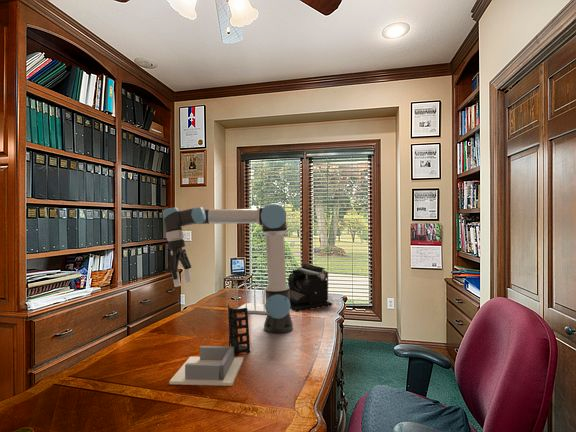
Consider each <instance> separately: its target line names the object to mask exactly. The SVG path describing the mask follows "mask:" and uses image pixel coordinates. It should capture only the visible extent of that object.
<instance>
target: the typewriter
mask: <svg viewBox="0 0 576 432" xmlns="http://www.w3.org/2000/svg"><path fill="white" fill-rule="evenodd" d="M325 269H326V268H325V267H322V266H318V265H317V266H316V265H313V264H308V263H303V264H302V265H301V266H300V267H297V269H292V273H290V274H289V275H288V278H287V279H288V280H287V281H288V283H287V285H289V289H290V291H289V293H290V304H291V307H290V309H291V308H292V309H291V310H293V309H294V310H293V311H295V310H296V311H295V312H300V311H299V310H303V311H306V310H305V309H308V310H312V309H311V308H314V309H318V308H317V307H320V308H323V307H322V306H326V307H329V306H328V305H332V306H333V303H332V302H331V301H328V300H329V294H328V293H329V272H328V271H326V270H325Z"/></svg>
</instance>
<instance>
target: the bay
mask: <svg viewBox="0 0 576 432" xmlns="http://www.w3.org/2000/svg"><path fill="white" fill-rule="evenodd" d="M244 360H245V359H244V357H243V356H242V357H237V356H236V357H235V353H234V346H231V345H230V346H229V345H228V346H227V345H223V346H221V345H200V346H199V356H189V357H188V358H187V360H186V361H185V362H184V363H183V364H182V366H181V367H179V369H178V370H177V371H176V373H175V374H174V375H173V377H172V378H171V379H170V380H169V381H168V385H186V386H188V385H189V386H224V387H225V386H230V387H231V386H233V385H234V383H235V380H236V378H237V377H238V374H239V372H240V369H241V367H242V364H243V362H244Z"/></svg>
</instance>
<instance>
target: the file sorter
mask: <svg viewBox="0 0 576 432" xmlns="http://www.w3.org/2000/svg"><path fill="white" fill-rule="evenodd" d="M244 285H245V303H244V304H242V305H240V306H239V288H240V287H242V286H244ZM252 286H253V297H254V298H253V301H254V302H248V288H250V287H252ZM260 287H261V288H262V289H261V291H262V293H261V294H262V296H261V297H262V298H261V299H263V300H262V303H256V290H257V289H258V288H260ZM265 303H266V297H265V288H264V285H263V283H260V284H259V285H257V286H256V284H255V283H252V284H251V285H249V286H248V285H247V282H244V283H243V284H240V285H239V286H237V288H236V309H242V308H247V309H248V314H259V315H260V314H261V315H267V312H266V309H265ZM241 313H243V314H245V312H241ZM241 313H240V314H241Z"/></svg>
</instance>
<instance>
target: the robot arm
mask: <svg viewBox="0 0 576 432" xmlns="http://www.w3.org/2000/svg"><path fill="white" fill-rule="evenodd" d="M162 221H163V225H164V230H165V238H166V240H167V241H168V242H167V247H168V250H169V251H168V254H169V257H168V258H169V259H168V260H169V262H168V273H169V274H172V281H173V285H174V288H177V287H181V286H182V284H181V279H180V274H179V271H178V269H179V264H180V263H181V266H182V268H183V274H184V278H185V279H184V280H185V283H192V281H193V280H192V275H191V270H190V269H192V265H191V262H190V260H189V257H188V254H187V251H186V248H185V247H186V244H185V240H184V232H183V227H185V226H190V225H191V226H192V225H209V224H211V225H214V224H215V225H218V224H221V225H222V224H228V225H229V224H233V225H234V224H258V225H259V226H261V231H262V233H263V234H264V235H265V246H266V265H267V266H266V267H267V268H266V269H267V285H266V287H264V289H265V309H266V312H267V314H266V317H265V320H264V322H263V323H264V324H263V329H264V331H265V332H267V333H272V334H285V333H289V332H291V331H293V329H294V324H293V320H292V318H291V317H292V316H291V313H290V311H291V308H290V307H291V304H290V293H289V291H290V289H289V285H288V283H287V279H286V258H285V237H284V235H285V233H286V232H287V210H286V209H285V208H284V206H282V204H279V203H276V202H275V203H274V202H272V203H268V204H266V205H265V206H258V207H257V208H234V209H233V208H229V209H228V208H225V209H223V208H220V209H216V208H215V209H211V208H210V209H209V208H208V209H204V208H203V206H198V207H197V206H196V207H193V208H188V209H184V210H179V208H178V207H169V208H165V209H163V211H162ZM179 261H180V263H179Z"/></svg>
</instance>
